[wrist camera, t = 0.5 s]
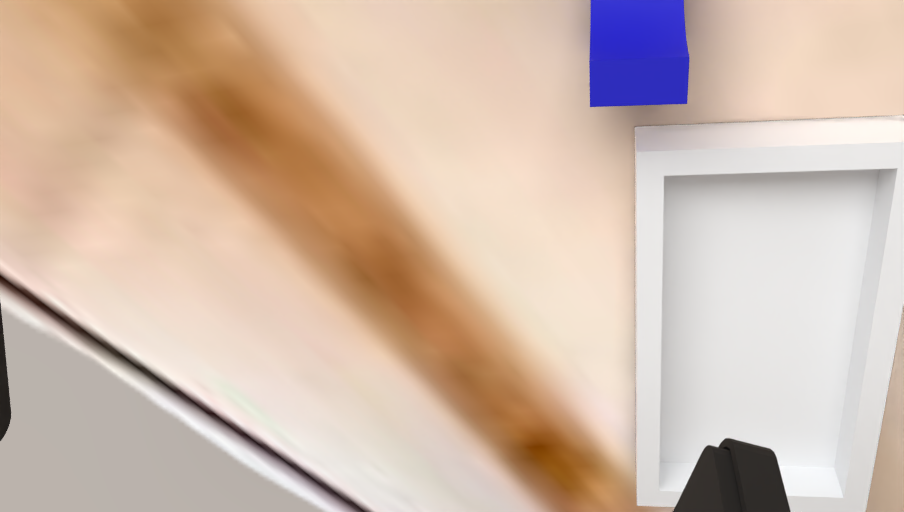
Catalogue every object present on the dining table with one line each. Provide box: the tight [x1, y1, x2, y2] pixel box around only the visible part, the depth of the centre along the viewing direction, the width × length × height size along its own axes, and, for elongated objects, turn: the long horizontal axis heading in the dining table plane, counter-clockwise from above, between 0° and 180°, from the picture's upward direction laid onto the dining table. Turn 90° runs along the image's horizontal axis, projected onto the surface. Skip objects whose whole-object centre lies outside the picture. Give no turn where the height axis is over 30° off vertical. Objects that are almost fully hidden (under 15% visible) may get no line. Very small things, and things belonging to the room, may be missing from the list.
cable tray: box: [635, 115, 904, 512], centre depth 35 cm, size 10×18×2 cm, turn 6°
